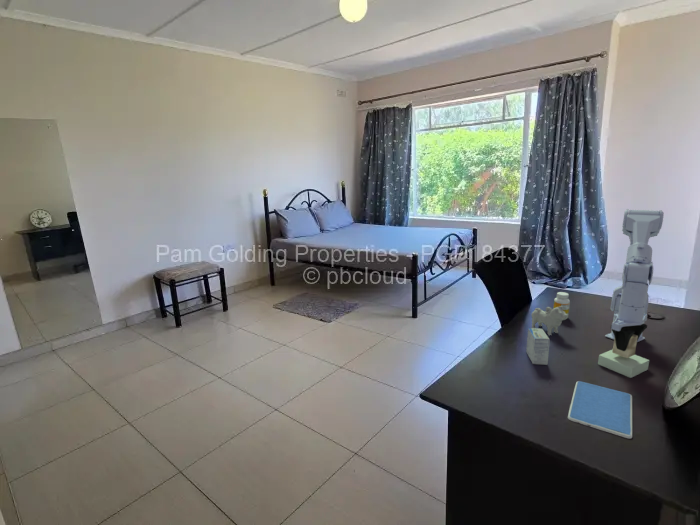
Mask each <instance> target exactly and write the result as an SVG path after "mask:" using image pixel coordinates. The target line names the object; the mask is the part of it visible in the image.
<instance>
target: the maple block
mask: <svg viewBox="0 0 700 525" xmlns="http://www.w3.org/2000/svg"><path fill="white" fill-rule="evenodd" d="M637 338H638V336H637V335H634V334H633V335H632V337H631V338H630V340H629V343H628V346H627V349H626V351H622V350H619V349H617V347H616V341H615V338H614V339H613V347H612V349H613V351H612V353H615V354H617V355H620V356H623V357H625V358H628V357H631V356H633V355H636V348H637V344H638V342H637Z"/></svg>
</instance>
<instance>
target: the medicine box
mask: <svg viewBox="0 0 700 525" xmlns="http://www.w3.org/2000/svg"><path fill="white" fill-rule="evenodd" d="M550 343H551V342H550V338H549V335H547V334H546V332H545V331H544V329H543V328H538V327H536V328H532V327H531V328H530V327H529V328H528V329H527V339H526V348H525V350H526V351H525V352H526V354H527V356H528V358H529V359H530V361H531V364H532V365H545V366H548V364H549V363H548V362H549V353H550Z"/></svg>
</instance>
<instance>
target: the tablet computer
mask: <svg viewBox="0 0 700 525" xmlns="http://www.w3.org/2000/svg"><path fill="white" fill-rule="evenodd" d="M567 419H568V420H569V421H571V422H574V423H578V424H581V425H582V426H583V425H584V426H587V427H591V428H593V429H597V430H600V431H602V432H607V433H609V434H613V435H616V436H619V437H622V438H625V439H632V438H633V395H632V394H630V393H628V392H624V391H619V390H616V389H612V388H608V387H605V386H600V385H597V384H592V383H589V382H584V381H581V380H578V381H576V383H575V386H574V389H573V394H572V398H571V402H570V404H569V410H568V415H567Z"/></svg>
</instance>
